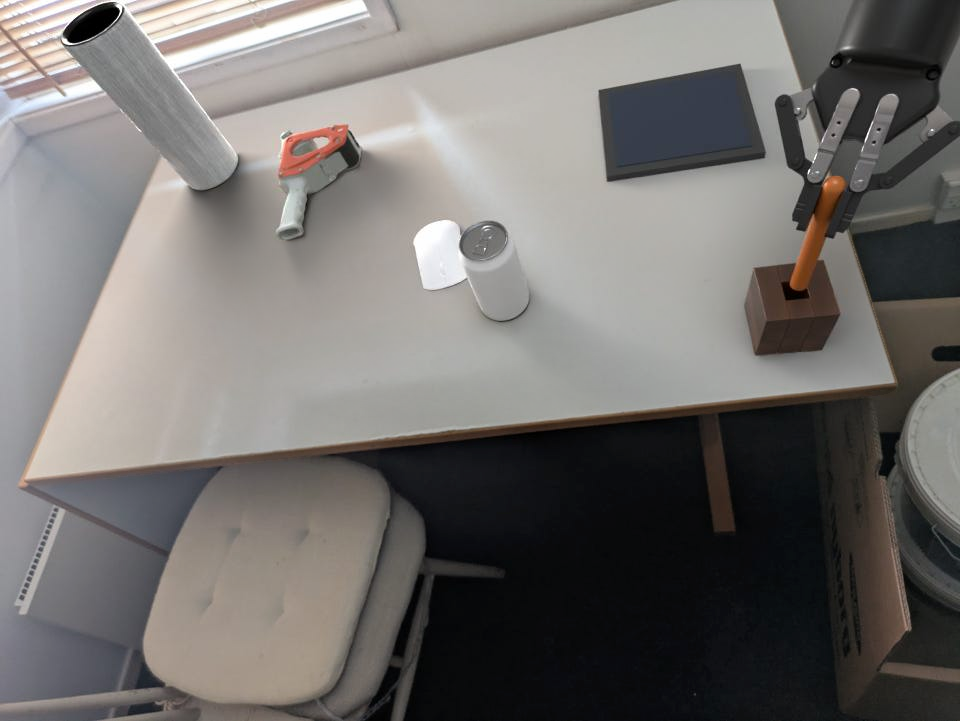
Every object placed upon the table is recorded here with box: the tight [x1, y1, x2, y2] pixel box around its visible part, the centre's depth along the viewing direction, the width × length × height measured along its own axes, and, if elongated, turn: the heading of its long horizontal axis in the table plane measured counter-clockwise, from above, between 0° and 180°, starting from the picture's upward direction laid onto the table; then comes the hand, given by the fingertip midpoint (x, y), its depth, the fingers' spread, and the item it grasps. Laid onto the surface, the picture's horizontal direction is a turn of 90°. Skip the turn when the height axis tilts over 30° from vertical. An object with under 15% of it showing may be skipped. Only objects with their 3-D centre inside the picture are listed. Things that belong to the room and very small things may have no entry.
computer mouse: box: [413, 219, 468, 291], centre depth 80 cm, size 7×12×2 cm, turn 10°
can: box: [459, 219, 530, 322], centre depth 70 cm, size 6×6×12 cm
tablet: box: [597, 63, 767, 182], centre depth 82 cm, size 20×18×1 cm
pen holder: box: [743, 259, 841, 356], centre depth 61 cm, size 7×7×7 cm
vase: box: [60, 0, 239, 191], centre depth 92 cm, size 10×10×27 cm
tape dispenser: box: [274, 124, 363, 241], centre depth 93 cm, size 18×5×20 cm
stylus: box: [790, 175, 847, 291], centre depth 52 cm, size 2×2×14 cm
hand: (815, 233), depth 49 cm, fingers closed on stylus, 1 cm apart
